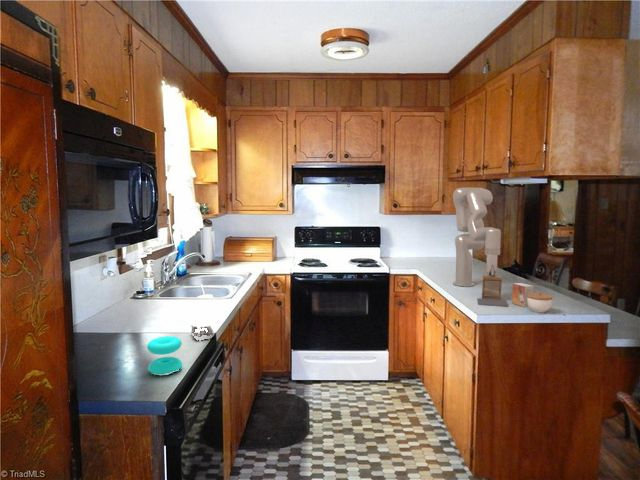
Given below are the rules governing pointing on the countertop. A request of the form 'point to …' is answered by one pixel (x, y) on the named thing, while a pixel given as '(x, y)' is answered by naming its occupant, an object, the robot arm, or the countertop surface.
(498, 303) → the mat
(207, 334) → the egg carton
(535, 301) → the lidded jar
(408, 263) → the countertop surface
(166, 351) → the donuts
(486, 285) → the slab
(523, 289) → the small box
